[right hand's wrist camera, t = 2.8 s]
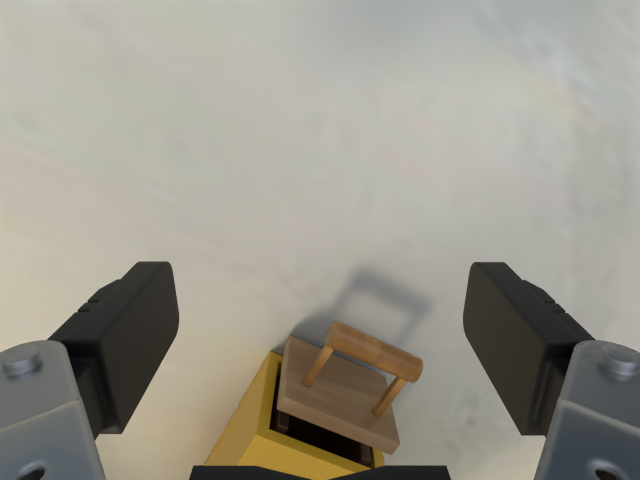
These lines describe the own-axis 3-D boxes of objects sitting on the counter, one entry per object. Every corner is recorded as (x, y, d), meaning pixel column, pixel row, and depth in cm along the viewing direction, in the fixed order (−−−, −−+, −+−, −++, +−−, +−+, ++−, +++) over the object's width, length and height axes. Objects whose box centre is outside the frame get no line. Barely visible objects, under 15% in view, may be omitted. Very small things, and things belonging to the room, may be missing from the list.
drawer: (321, 281, 32) (322, 335, 25) (419, 328, 34) (444, 389, 27) (216, 459, 39) (195, 538, 32) (301, 491, 41) (298, 571, 34)
